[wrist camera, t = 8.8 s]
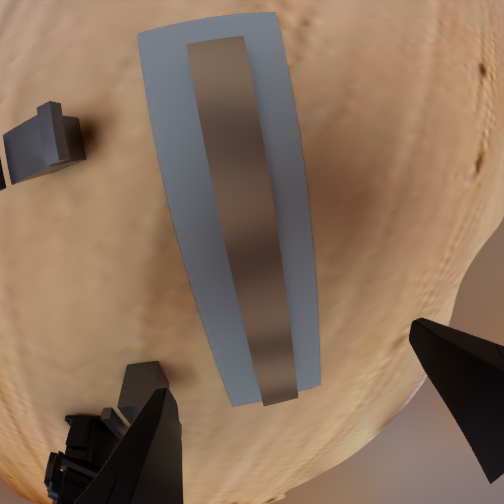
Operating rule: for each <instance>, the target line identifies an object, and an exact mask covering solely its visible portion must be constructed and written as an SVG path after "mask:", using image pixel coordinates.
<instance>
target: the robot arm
mask: <svg viewBox="0 0 504 504" xmlns="http://www.w3.org/2000/svg"><path fill="white" fill-rule="evenodd" d="M409 342H410V344H411V346H412V348H413V350H414V351H415V353H416V355H417V357H418V359H419V361H420V363H421V365H422V367H423V369H424V370H425V372H426V374H427V375H428V377H429V379H430V380H431V382H432V383H433V385H434V386H435V388H436V389H437V391H438V392H439V394H440V396H441V397H442V399H443V400H444V402H445V404H446V405H447V407H448V408H449V410H450V412H451V413H452V415H453V417H454V418H455V420H456V422H457V423H458V425H459V427H460V429H461V430H462V432H463V434H464V436H465V437H466V439H467V441H468V443H469V444H470V446H471V447H472V450H473V452H474V454H475V456H476V458H477V459H478V461H479V463H480V465H481V466H482V469H483V471H484V473H485V475H486V477H487V479H488V481H489V482H490V484H491V483H493V482H494V481H495V480H496V479H498V478H499V477H500V476H501V475H502V474H503V473H504V346H502V345H499V344H495V343H493V342H490V341H488V340H485V339H482V338H479V337H476V336H473V335H470V334H468V333H465V332H462V331H459V330H456V329H453V328H450V327H448V326H445V325H442V324H439V323H436V322H433V321H431V320H428V319H425V318H418V319H416V320H414V321H413V322H412V324H411V329H410V334H409ZM65 421H66V422H67V423H68V424H69V425H70V430H69V433H68V437H67V440H66V445H67V447H66V451H65V454H63V452H61V451H59V452H58V453H53V452H51V453H50V456H49V460H48V464H47V468H46V473H45V479H44V483H45V485H46V487H47V491H48V497H49V498H51V499H53V502H52V504H183V478H182V441H181V433H180V425H179V416H178V407H177V403H176V400H175V399H174V397H173V395H172V394H171V392H170V390H169V389H168V388H167V387H162V388H156V389H155V390H154V392H153V393H152V395H151V396H150V398H149V399H148V401H147V402H146V404H145V405H144V407H143V408H142V410H141V411H140V412H139V414H138V415H137V417H136V418H135V420H134V421H133V423H132V424H131V426H130V427H129V429H128V430H127V432H126V433H125V435H124V436H123V438H122V439H121V440H119V439H118V438H117V437H116V436H115V435H114V434H113V433H112V431H111V430H110V429H109V428H108V427H107V426H106V425H105V424H104V422H103V421H102V420H101V417H78V416H66V417H65ZM60 469H62V470H63V472H62V471H60Z"/></svg>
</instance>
